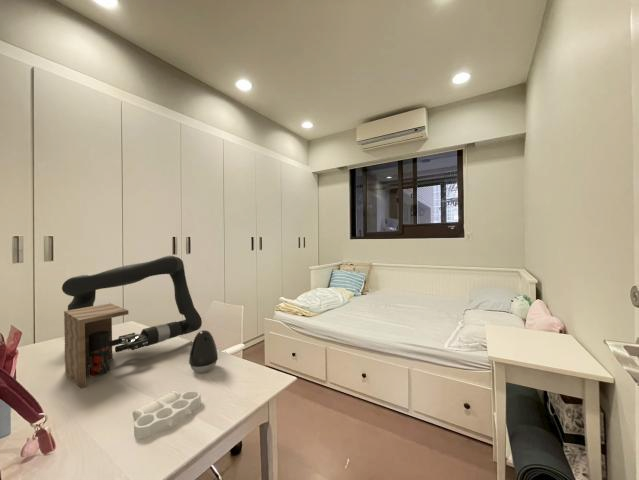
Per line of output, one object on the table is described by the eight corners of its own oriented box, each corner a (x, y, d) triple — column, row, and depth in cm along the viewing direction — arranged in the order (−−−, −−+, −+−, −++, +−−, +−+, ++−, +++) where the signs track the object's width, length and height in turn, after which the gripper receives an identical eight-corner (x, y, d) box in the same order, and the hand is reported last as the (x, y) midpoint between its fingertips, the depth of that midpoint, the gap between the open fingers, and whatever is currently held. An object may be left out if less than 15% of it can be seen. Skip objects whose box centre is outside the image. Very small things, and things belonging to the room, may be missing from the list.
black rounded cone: (194, 379, 96) (193, 337, 96) (186, 369, 104) (185, 330, 104) (222, 370, 103) (221, 331, 103) (212, 360, 111) (212, 324, 111)
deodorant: (113, 369, 105) (112, 331, 104) (99, 376, 99) (99, 336, 98) (99, 368, 105) (99, 330, 105) (85, 376, 99) (84, 336, 99)
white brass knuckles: (182, 393, 89) (210, 407, 81) (119, 426, 73) (147, 448, 66) (182, 383, 89) (210, 396, 81) (119, 414, 73) (146, 434, 66)
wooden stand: (65, 372, 102) (64, 311, 102) (111, 357, 114) (110, 303, 114) (80, 388, 91) (78, 320, 91) (129, 370, 103) (128, 310, 103)
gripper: (148, 323, 122) (104, 333, 109) (163, 329, 114) (118, 341, 101) (148, 339, 122) (105, 352, 109) (163, 346, 114) (118, 361, 101)
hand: (111, 347), depth 105 cm, fingers open, 8 cm apart
